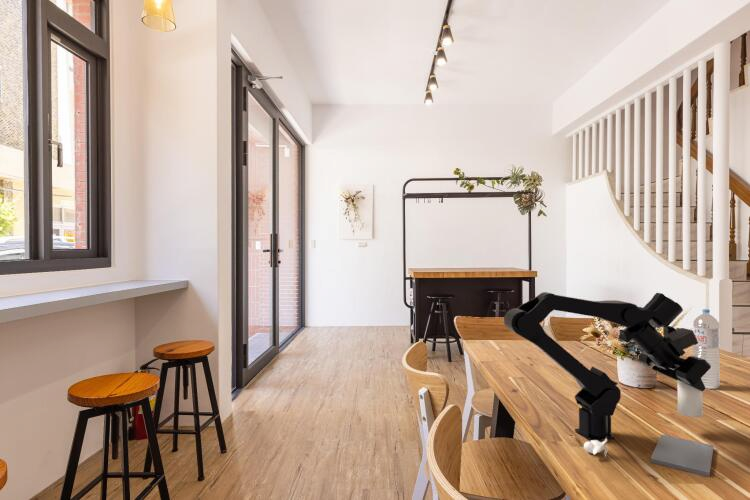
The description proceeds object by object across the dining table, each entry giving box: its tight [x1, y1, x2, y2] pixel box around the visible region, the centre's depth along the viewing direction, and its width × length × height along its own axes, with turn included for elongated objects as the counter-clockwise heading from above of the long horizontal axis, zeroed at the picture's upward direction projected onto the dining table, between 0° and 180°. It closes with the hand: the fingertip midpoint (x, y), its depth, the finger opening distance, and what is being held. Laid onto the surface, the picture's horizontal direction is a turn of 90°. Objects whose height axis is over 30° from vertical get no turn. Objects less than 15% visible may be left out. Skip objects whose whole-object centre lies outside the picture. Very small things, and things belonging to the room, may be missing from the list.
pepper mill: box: [676, 377, 704, 418], centre depth 111 cm, size 5×5×12 cm
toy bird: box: [583, 437, 609, 458], centre depth 100 cm, size 8×5×5 cm, turn 159°
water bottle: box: [693, 308, 721, 390], centre depth 148 cm, size 7×7×25 cm
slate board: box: [650, 433, 714, 477], centre depth 99 cm, size 16×10×1 cm, turn 141°
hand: (695, 386), depth 111 cm, fingers closed on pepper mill, 5 cm apart
